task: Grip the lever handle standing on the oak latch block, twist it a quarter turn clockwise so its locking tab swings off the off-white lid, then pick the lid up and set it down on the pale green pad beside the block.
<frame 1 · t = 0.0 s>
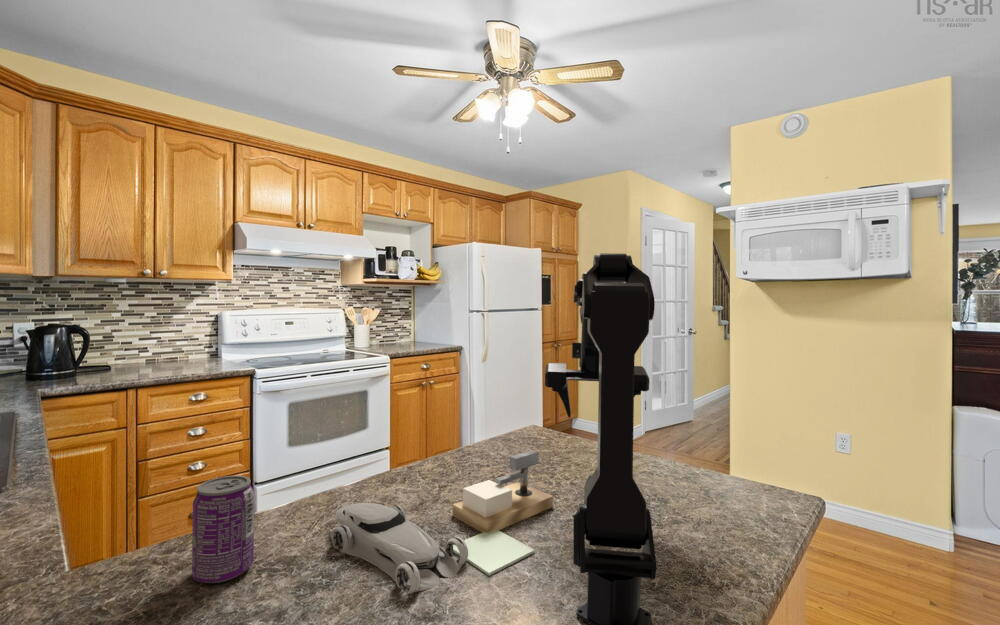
hand: (593, 417, 89), 15 cm above the worktop, tool pointing down, fingers open, 9 cm apart
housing: (503, 511, 82), on the worktop
beverage can: (223, 573, 62), on the worktop
car model: (390, 552, 69), on the worktop
cover: (487, 506, 79), point 2 cm above the worktop, touching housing
pad: (491, 550, 69), on the worktop
lever handle: (517, 475, 84), point 6 cm above the worktop, hinge at 0.0°
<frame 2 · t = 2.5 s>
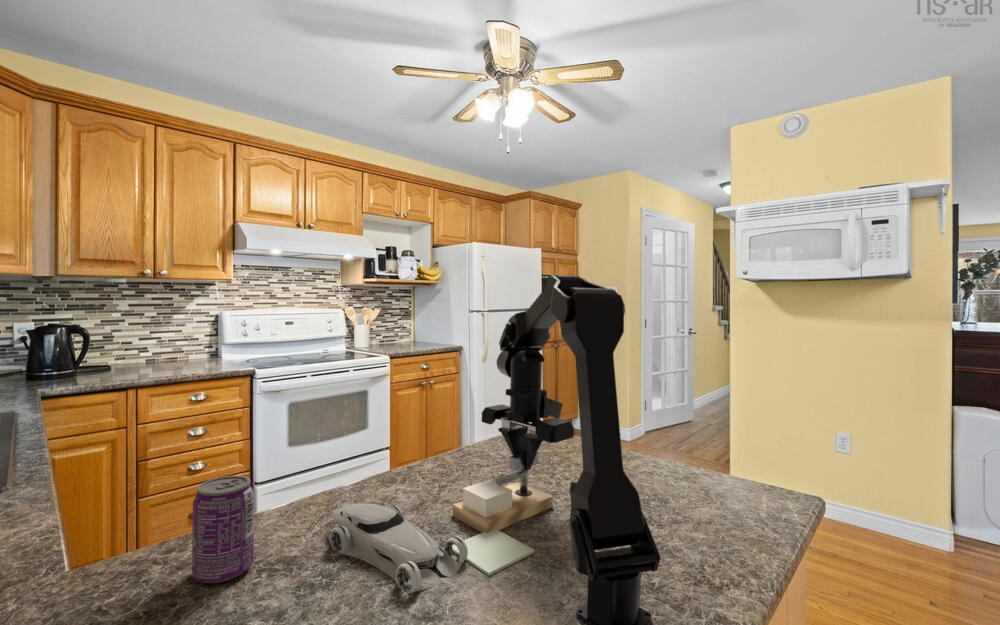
hand: (524, 468, 85), 7 cm above the worktop, tool pointing down, fingers closed on lever handle, 2 cm apart
lever handle: (517, 475, 84), point 6 cm above the worktop, hinge at 0.0°, touching gripper
everything else where it was.
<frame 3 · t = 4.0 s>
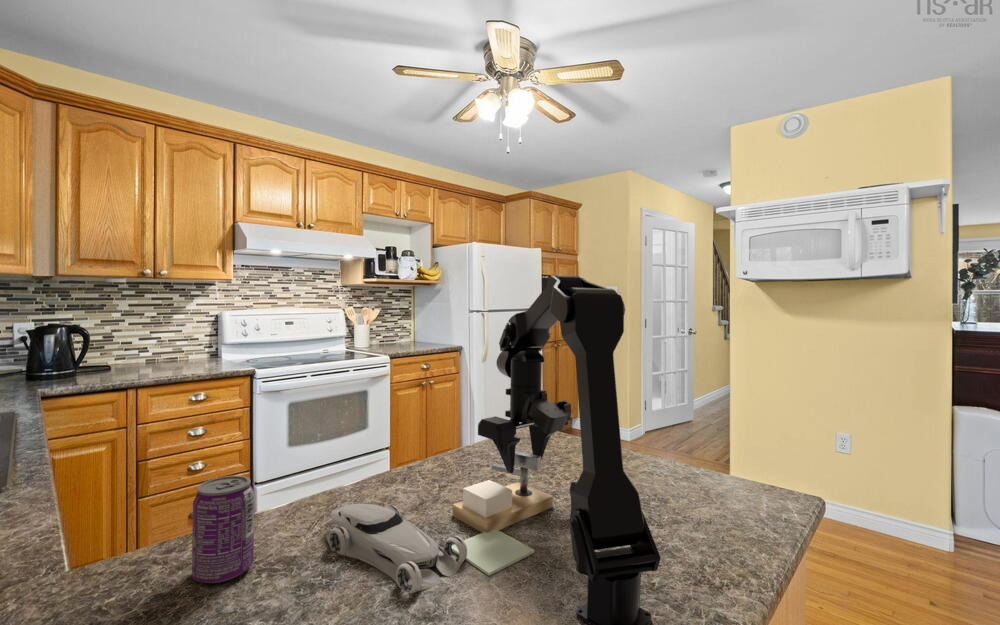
hand: (524, 468, 85), 7 cm above the worktop, tool pointing down, fingers open, 7 cm apart
lever handle: (515, 471, 86), point 6 cm above the worktop, hinge at -71.7°
everything else where it was.
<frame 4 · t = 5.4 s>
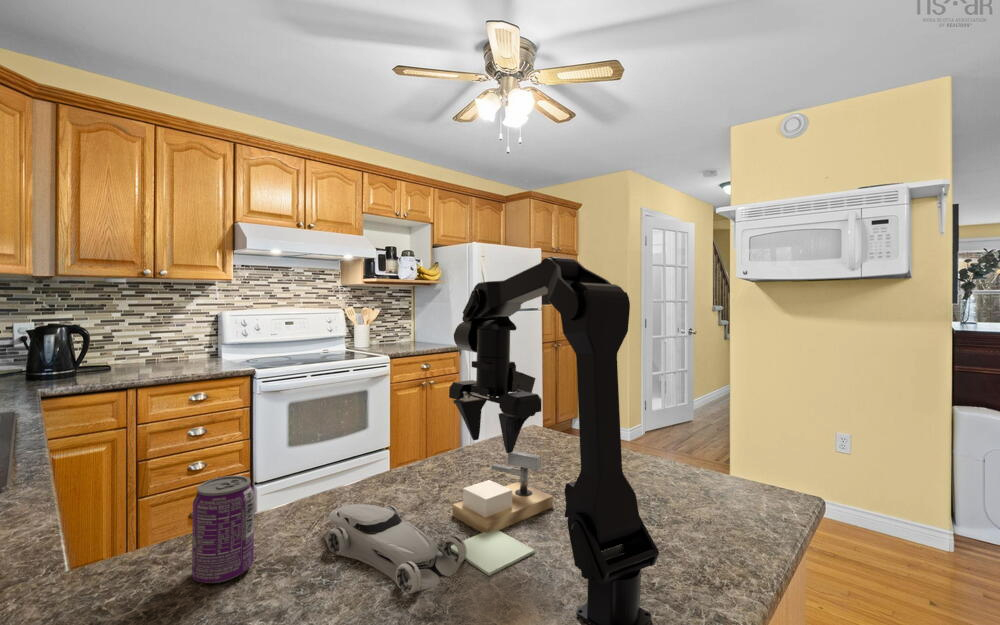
hand: (491, 445, 80), 12 cm above the worktop, tool pointing down, fingers open, 9 cm apart
nothing on the worktop moved.
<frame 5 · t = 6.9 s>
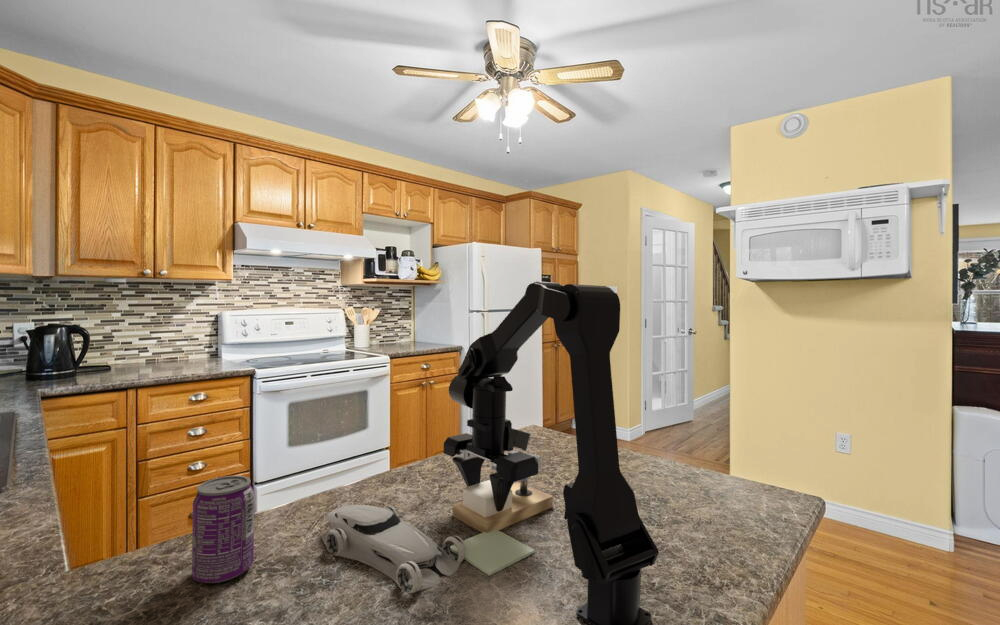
hand: (487, 504, 79), 2 cm above the worktop, tool pointing down, fingers closed on cover, 6 cm apart
cover: (487, 506, 79), point 2 cm above the worktop, touching gripper, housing
everything else where it was.
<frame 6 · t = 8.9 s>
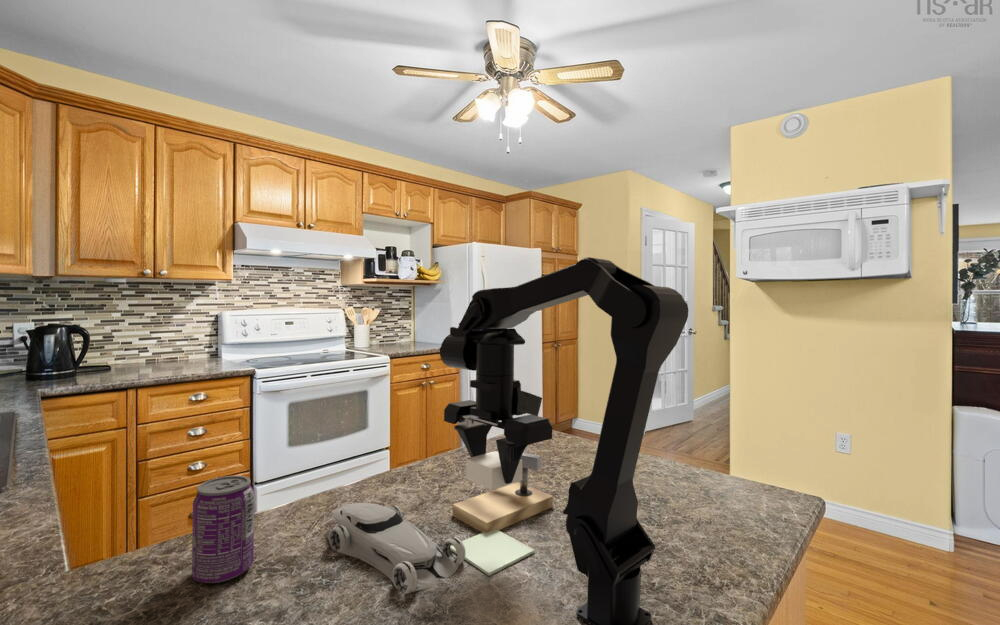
hand: (494, 477, 69), 11 cm above the worktop, tool pointing down, fingers closed on cover, 6 cm apart
cover: (494, 479, 69), point 10 cm above the worktop, touching gripper
when the fingers open (2 cm above the worktop, at t = 11.1 s): cover drops 1 cm, resting on pad.
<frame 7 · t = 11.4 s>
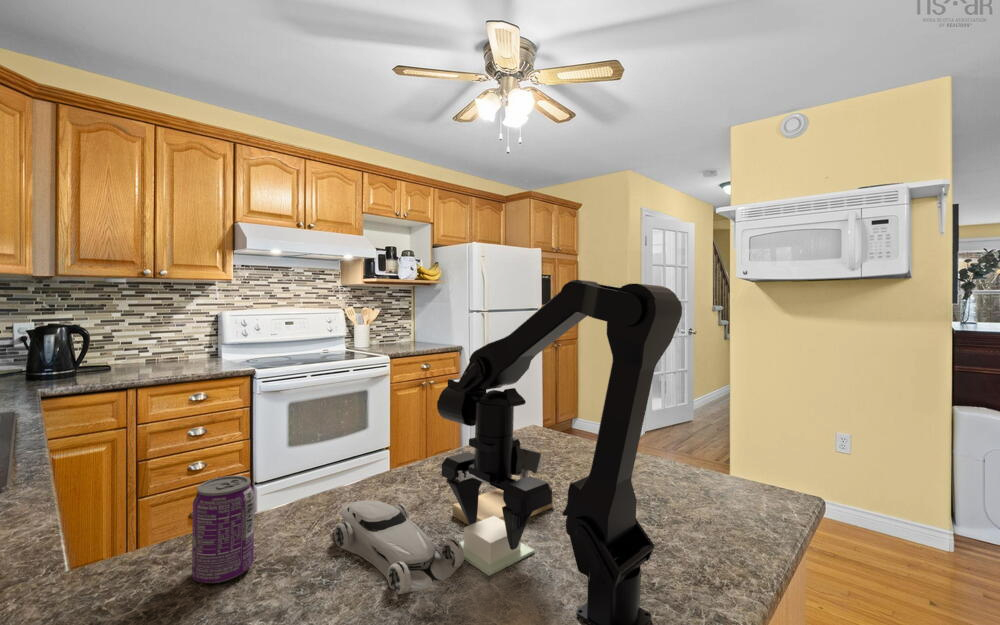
hand: (492, 536, 69), 2 cm above the worktop, tool pointing down, fingers open, 9 cm apart
cover: (491, 548, 69), resting on pad
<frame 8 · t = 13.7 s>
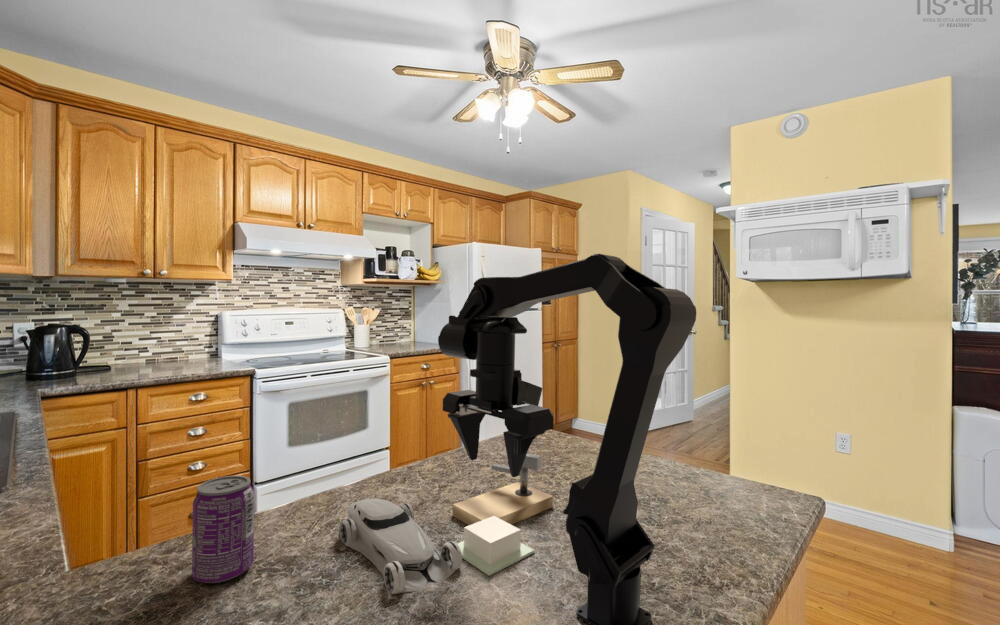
hand: (493, 467, 69), 12 cm above the worktop, tool pointing down, fingers open, 9 cm apart
at the end: lever handle at -72° (first picture: +0°); cover inside the target area (0.1 cm from its centre), resting on pad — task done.
